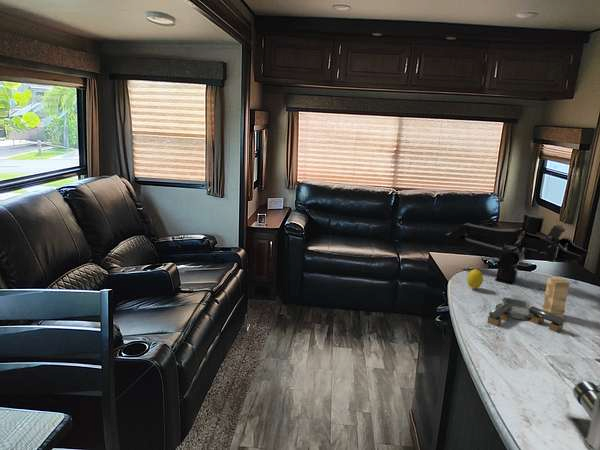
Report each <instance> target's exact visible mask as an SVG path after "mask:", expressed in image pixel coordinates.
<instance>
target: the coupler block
mask: <svg viewBox="0 0 600 450" xmlns="http://www.w3.org/2000/svg"><path fill="white" fill-rule="evenodd" d="M569 287H570V281H567V280H566V279H564V278H563V277H547V283H546V288H545V293H544V300H543V304H542V310H544V311H546V312H549V313H551V314H554V315H556V316H559V317H561V318H564V315H565V311H566V310H565V308H566V304H567V297H568V292H569Z"/></svg>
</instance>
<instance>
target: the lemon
mask: <svg viewBox="0 0 600 450" xmlns="http://www.w3.org/2000/svg"><path fill="white" fill-rule="evenodd" d="M483 277H484V276H483V272H481V271H480V270H479V269H477V268H475V269H471V270H470V271H469V272H468V274H467V277H466V281H467V285H468V286H469V287H470V288H472V289H473V290H475V289H477V288H479V287H481V286H482V285H483V282H484V278H483Z"/></svg>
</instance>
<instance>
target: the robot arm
mask: <svg viewBox="0 0 600 450" xmlns="http://www.w3.org/2000/svg"><path fill="white" fill-rule="evenodd" d="M544 220H545V216H542V215H539V214H527V213H526V214H524V216H523V222H522V226H521V227H520V228H518V229H517V228H494V227H489V226H483V225H477V224H473V223H469V222H466V223H464V224H462V225H461V226H459V227H458V228H456V229H455V230H453V231H452V232H448V233H445V234H444V235H443V236H442V244H443V245H444V247H447V248H454V249H459V248H460V249H466V250H470V251H474V252H477V253H480V254H483V255H487V256H491V257H494V258H497V259H498V260H497V261H496V264H497V265H496V266H497V273H496V278H494V280H495V281H497V282H501V283H505V284H509V285H513V283H515V282H516V281H517V280H518V279H517V277H518V273H519V272H518V270H517V269H518V268H517V266H518V265H519V263H521V262H523V261H524V260H525V250H526V249H528V250H531V251H535V252H537V254H544V255H545V256H544V257H545V260H546V261H547V262H549V263H554V262H555V263H558V262H566V261H567V262H568V261H580V260H582V256H586V255H589V251H587V250H585V249H584V248H582V247H580V246H578V245H576V244H575V243H574V242H573V239H572V238H571V237H568V236H564V237H563V238H562V237H561V236H562V234H564V232H565V230H566V229H565V228H564V227H563V226H562V225H559V224H555V225H553V226H552V228H551V229H550V231H549V233H548V234H547V235H544V236H540V235H538V234H539V233H541V232H542V229H543V226H544V222H545V221H544ZM467 235H472V236H477V237H482V238H488V239H493V240H495V241H497V242H499V243H501V244H504V246H498V245H493V244H490V243H487V242H486V243H485V242H482V241H479V240H475V239H472V238H468V237H467ZM560 237H561V239H560ZM518 243H519V245H517V246H514V245H516V244H518Z"/></svg>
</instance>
